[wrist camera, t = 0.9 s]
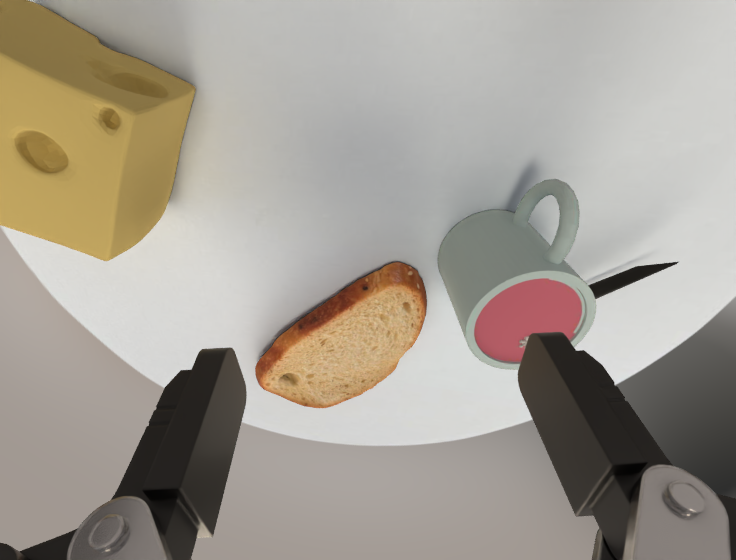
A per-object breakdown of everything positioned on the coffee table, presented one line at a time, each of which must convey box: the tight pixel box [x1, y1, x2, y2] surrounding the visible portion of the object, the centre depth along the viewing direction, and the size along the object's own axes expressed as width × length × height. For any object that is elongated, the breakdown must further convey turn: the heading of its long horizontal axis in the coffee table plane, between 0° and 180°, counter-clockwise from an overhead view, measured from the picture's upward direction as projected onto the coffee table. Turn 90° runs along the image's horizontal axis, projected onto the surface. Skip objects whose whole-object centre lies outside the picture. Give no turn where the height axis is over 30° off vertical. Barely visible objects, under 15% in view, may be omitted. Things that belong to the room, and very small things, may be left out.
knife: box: [588, 262, 678, 299], centre depth 37 cm, size 17×1×3 cm, turn 121°
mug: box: [438, 179, 596, 370], centre depth 30 cm, size 14×9×10 cm
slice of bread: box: [255, 262, 427, 408], centre depth 39 cm, size 18×18×4 cm
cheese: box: [0, 0, 196, 261], centre depth 24 cm, size 10×11×10 cm
